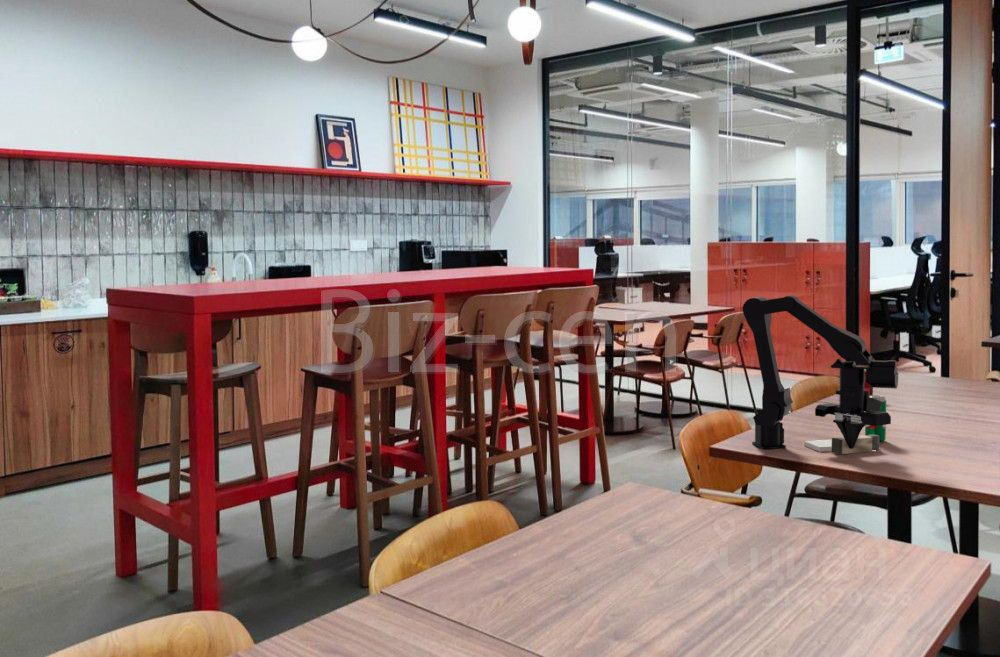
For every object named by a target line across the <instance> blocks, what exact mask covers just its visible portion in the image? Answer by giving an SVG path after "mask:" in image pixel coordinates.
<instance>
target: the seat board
mask: <svg viewBox="0 0 1000 657" xmlns="http://www.w3.org/2000/svg"><path fill="white" fill-rule="evenodd" d="M803 442H804V447H806V448H809V449H811V450H814V451H817V452H819V453H821V452H824V453H825V452H832V438H831V439H820V440H819V439H818V440H805V441H803ZM880 450H881V449H880V448H879V450H876V451H878V452H881V451H882V450H881V451H880Z"/></svg>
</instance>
